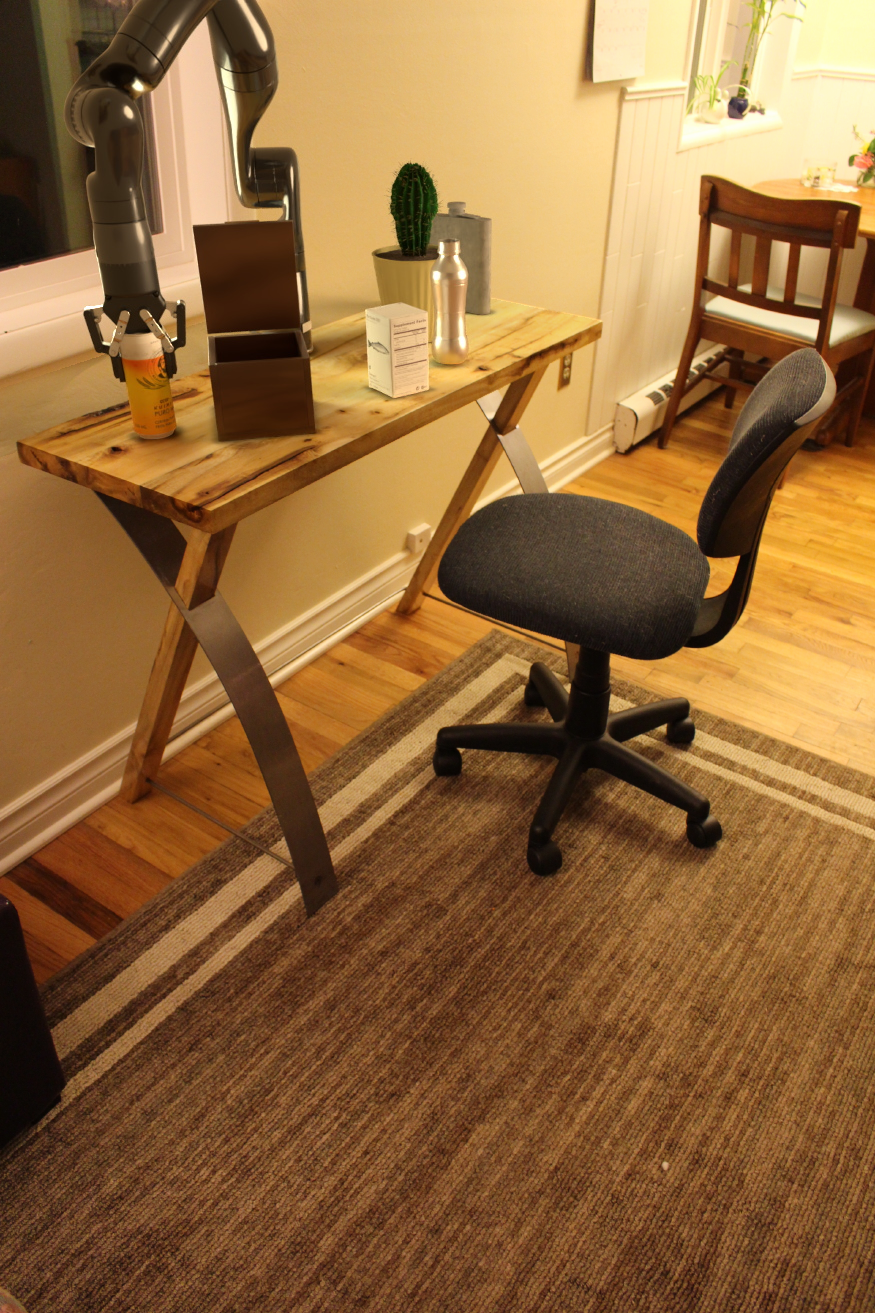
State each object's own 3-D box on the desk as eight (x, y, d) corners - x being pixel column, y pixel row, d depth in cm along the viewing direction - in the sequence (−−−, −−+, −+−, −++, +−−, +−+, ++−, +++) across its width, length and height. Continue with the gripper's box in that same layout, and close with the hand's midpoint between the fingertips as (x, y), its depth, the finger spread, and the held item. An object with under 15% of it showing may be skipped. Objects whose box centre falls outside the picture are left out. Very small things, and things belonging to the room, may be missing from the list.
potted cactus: (358, 334, 193) (348, 159, 177) (419, 319, 202) (415, 150, 185) (412, 351, 183) (407, 167, 167) (474, 334, 192) (474, 158, 176)
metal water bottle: (442, 370, 174) (441, 246, 163) (424, 360, 179) (422, 239, 168) (475, 364, 176) (476, 241, 165) (457, 355, 181) (456, 234, 170)
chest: (316, 432, 150) (309, 357, 144) (219, 441, 147) (208, 365, 142) (306, 400, 162) (300, 329, 156) (217, 407, 160) (207, 336, 154)
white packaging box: (367, 387, 167) (363, 308, 160) (405, 378, 170) (402, 300, 163) (392, 399, 162) (388, 317, 155) (430, 390, 165) (429, 309, 158)
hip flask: (418, 305, 211) (415, 200, 200) (428, 301, 214) (426, 197, 203) (485, 315, 204) (486, 206, 193) (495, 310, 207) (496, 203, 196)
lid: (292, 221, 145) (289, 207, 149) (192, 226, 143) (191, 212, 147) (300, 327, 156) (297, 312, 160) (207, 334, 153) (206, 318, 157)
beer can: (166, 441, 148) (149, 336, 140) (128, 439, 149) (108, 334, 141) (183, 427, 153) (168, 324, 144) (146, 424, 154) (128, 323, 146)
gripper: (180, 246, 141) (198, 367, 150) (73, 252, 139) (97, 374, 148) (180, 258, 135) (198, 383, 144) (67, 264, 133) (92, 391, 142)
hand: (146, 378), depth 146 cm, fingers closed on beer can, 6 cm apart
